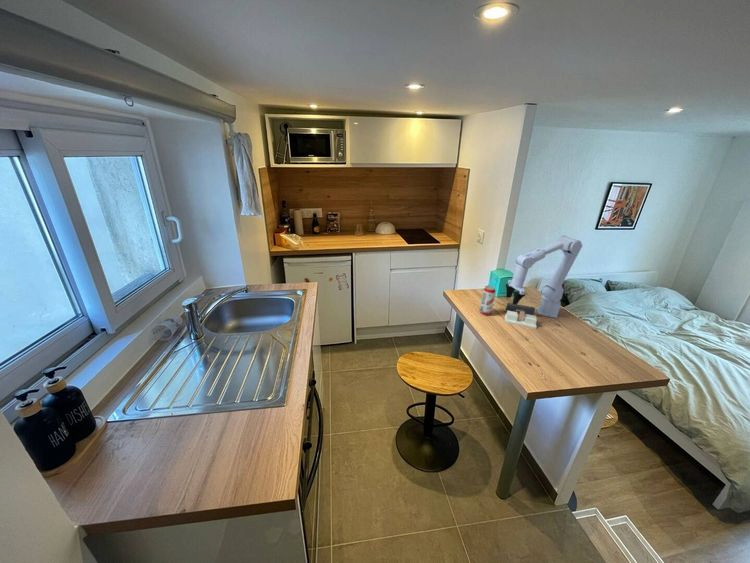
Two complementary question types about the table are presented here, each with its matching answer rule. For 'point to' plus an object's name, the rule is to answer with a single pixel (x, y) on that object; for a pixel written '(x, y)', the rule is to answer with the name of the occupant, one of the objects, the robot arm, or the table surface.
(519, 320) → the display stand
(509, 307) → the glasses bar
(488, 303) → the beer can
